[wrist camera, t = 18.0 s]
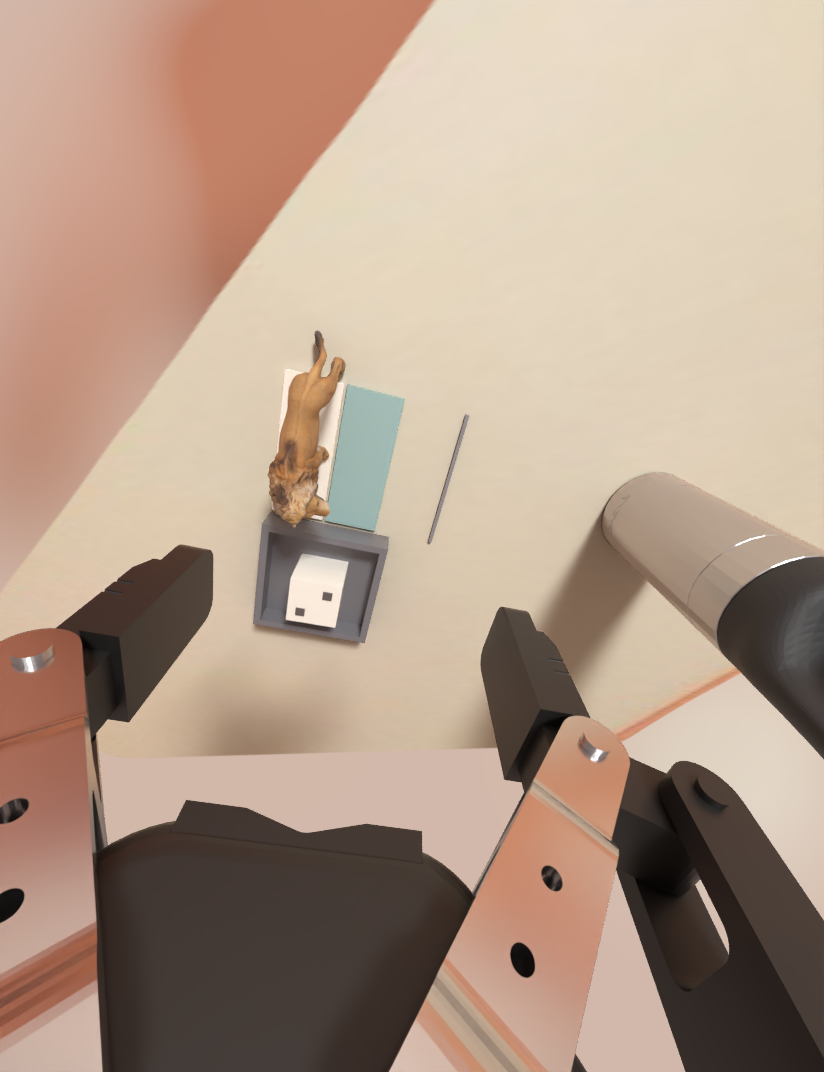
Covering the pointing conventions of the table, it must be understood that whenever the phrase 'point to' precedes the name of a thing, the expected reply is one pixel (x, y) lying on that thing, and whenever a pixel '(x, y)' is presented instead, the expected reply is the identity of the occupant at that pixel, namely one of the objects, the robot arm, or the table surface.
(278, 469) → the lion figurine
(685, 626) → the table surface
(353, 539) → the dice tray
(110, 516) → the table surface
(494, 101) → the table surface
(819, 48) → the table surface
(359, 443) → the track
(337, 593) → the die
